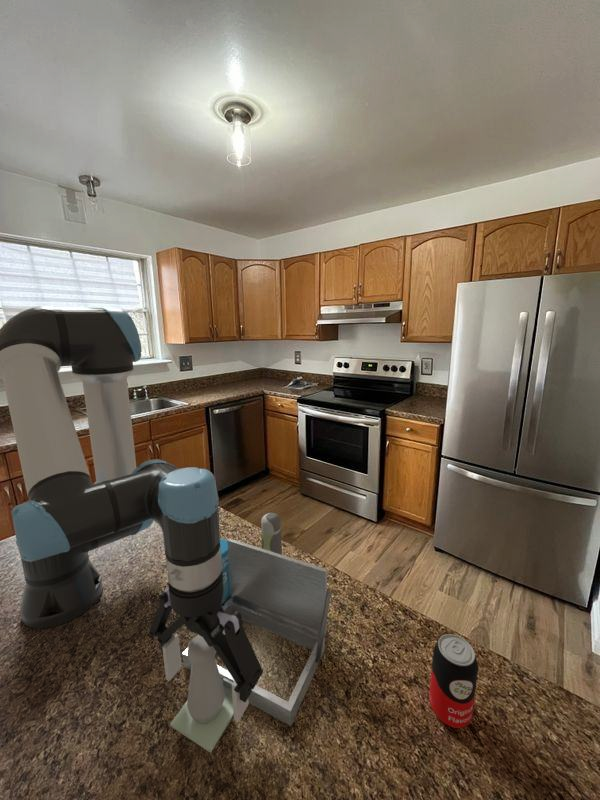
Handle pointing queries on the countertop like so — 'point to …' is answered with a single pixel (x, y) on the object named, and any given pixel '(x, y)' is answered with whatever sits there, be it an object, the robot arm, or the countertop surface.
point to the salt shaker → (204, 682)
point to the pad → (207, 732)
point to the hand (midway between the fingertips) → (205, 691)
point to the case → (277, 613)
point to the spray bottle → (271, 533)
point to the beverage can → (453, 681)
